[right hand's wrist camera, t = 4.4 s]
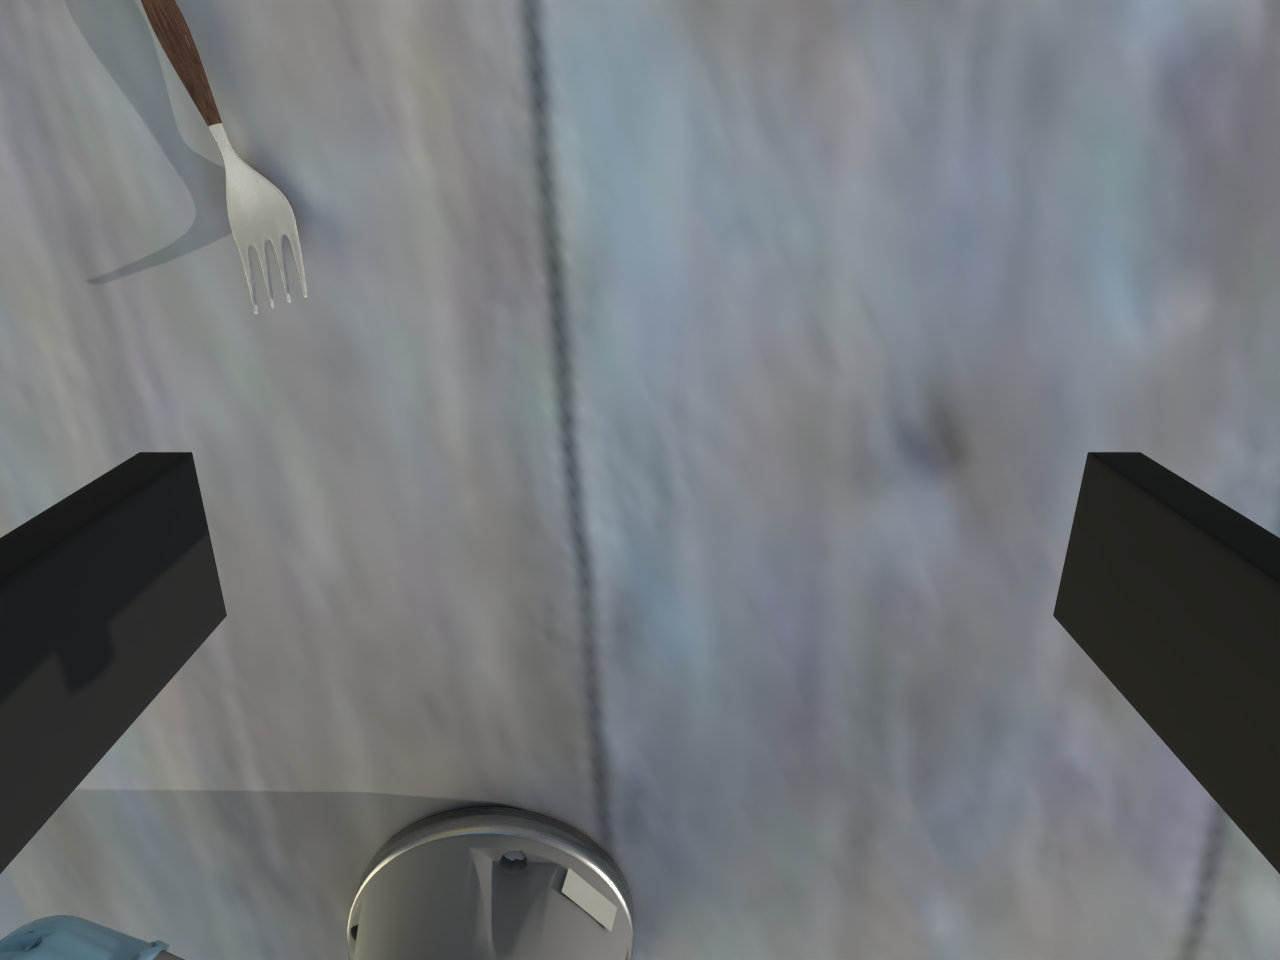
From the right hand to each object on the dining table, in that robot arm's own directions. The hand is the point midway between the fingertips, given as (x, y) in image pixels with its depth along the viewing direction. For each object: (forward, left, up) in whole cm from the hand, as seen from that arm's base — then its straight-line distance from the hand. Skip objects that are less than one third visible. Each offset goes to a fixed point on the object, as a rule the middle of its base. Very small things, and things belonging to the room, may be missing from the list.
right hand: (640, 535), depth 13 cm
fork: (-10, +15, -24) cm, 30 cm away
